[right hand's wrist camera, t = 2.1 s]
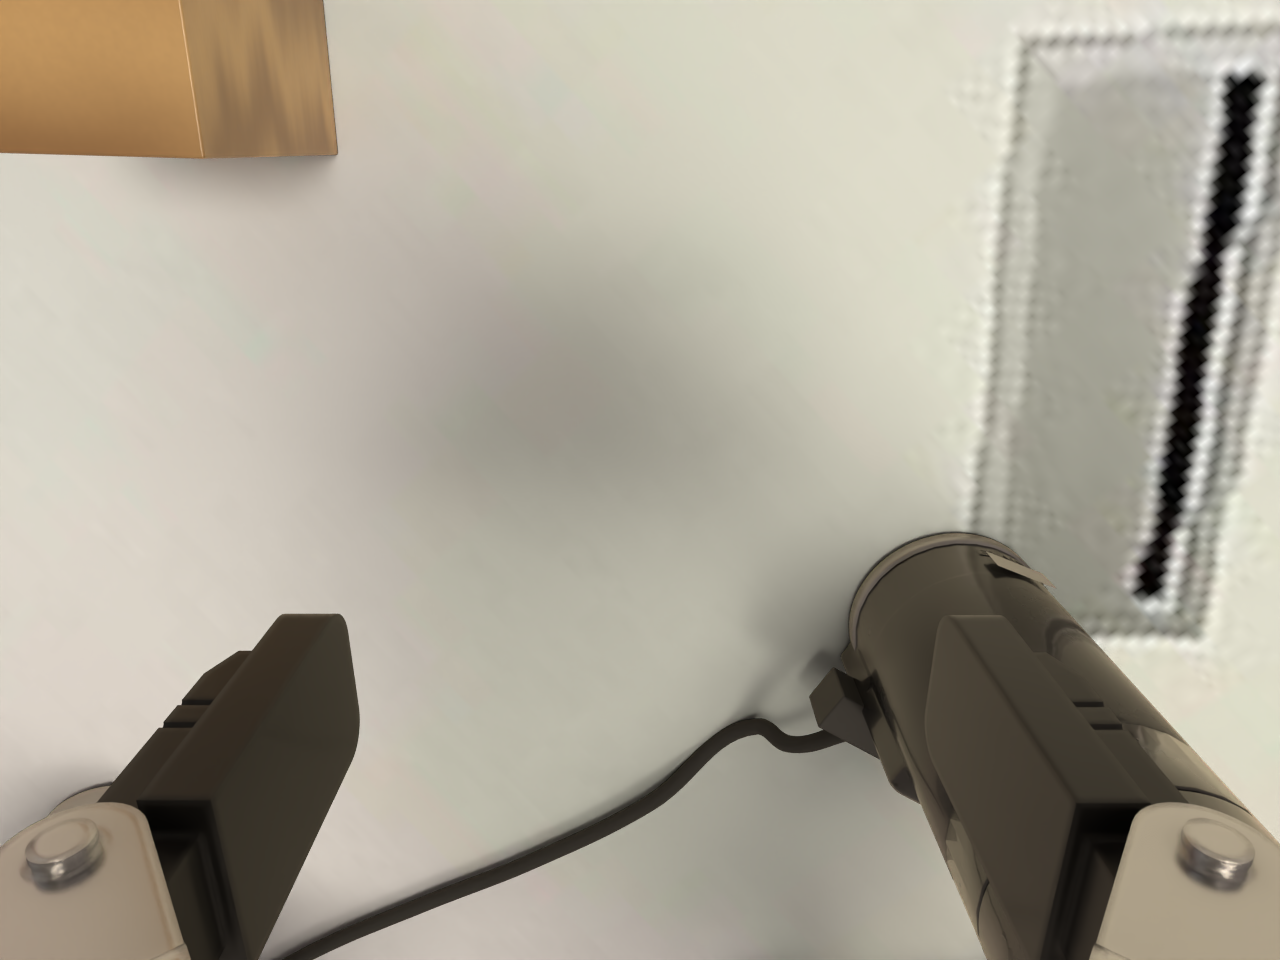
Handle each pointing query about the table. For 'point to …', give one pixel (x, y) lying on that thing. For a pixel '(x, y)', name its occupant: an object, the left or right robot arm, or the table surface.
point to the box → (165, 78)
